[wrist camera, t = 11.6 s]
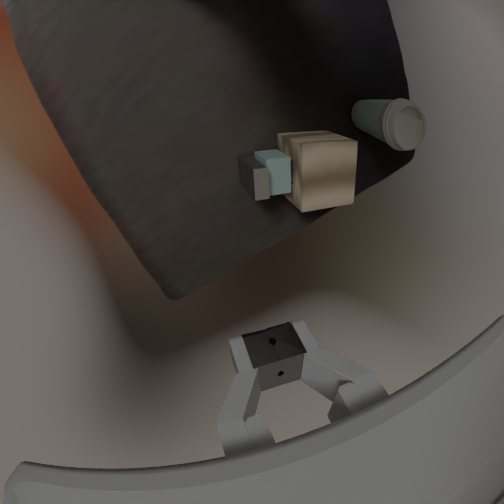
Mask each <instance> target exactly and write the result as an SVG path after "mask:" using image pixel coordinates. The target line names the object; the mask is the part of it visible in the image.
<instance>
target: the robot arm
mask: <svg viewBox="0 0 504 504" xmlns="http://www.w3.org/2000/svg"><path fill="white" fill-rule="evenodd" d="M228 342H229V346H230V351H231V356H232V360H233V364H234V367H235V371H236V374H235V376H234V378H233V381H232V384H231V387H230V389H229V392H228V395H227V397H226V400H225V403H224V406H223V408H222V411H221V413H220V416H219V419H218V421H217V427H218V431H219V435H220V438H221V442H222V446H223V449H224V453H225V457H219V458H214V459H209V460H204V461H199V462H192V463H185V464H177V465H169V466H159V467H146V468H128V469H94V468H93V469H92V468H75V467H63V466H53V465H46V464H40V463H34V462H27V461H25V462H21V463H20V464H19V465H18V466H17V467H16V468H15V470H14V471H13V473H12V474H11V475H10V477H9V478H8V480H7V482H6V484H5V487H4V493H3V504H504V315H502V316H500V317H499V318H498V319H497V320H495V321H494V322H493V323H492V324H491V325H490V326H489V327H488V328H486V329H485V330H484V331H483V332H482V333H480V334H479V335H478V336H477V337H476V338H474V339H473V340H472V341H471V342H469V343H468V344H467V345H465V346H464V347H463V348H462V349H460V350H459V351H458V352H456V353H455V354H454V355H452V356H451V357H450V358H448V359H447V360H445V361H444V362H442V363H441V364H439V365H438V366H436V367H435V368H433V369H432V370H431V371H429V372H427V373H426V374H424V375H423V376H421V377H420V378H418V379H416V380H415V381H413V382H412V383H410V384H408V385H406V386H405V387H403V388H401V389H400V390H398V391H396V392H394V393H393V394H391V395H388V393H387V392H386V390H385V389H384V387H383V386H382V384H381V383H380V381H379V380H378V378H377V377H376V375H375V374H374V372H373V371H372V370H370V369H368V368H366V367H363V366H361V365H359V364H357V363H355V362H353V361H351V360H349V359H347V358H345V357H343V356H341V355H339V354H337V353H335V352H333V351H331V350H329V349H327V348H325V347H323V348H320V346H319V344H318V343H317V341H316V339H315V338H314V336H313V334H312V333H311V331H310V329H309V328H308V326H307V324H306V323H305V321H304V320H303V319H298V320H295V321H291V322H287V323H284V324H281V325H277V326H273V327H270V328H267V329H265V330H260V331H256V332H252V333H248V334H243V335H239V336H235V337H231V338H228ZM299 379H301V381H303V382H304V383H306V384H307V385H309V386H310V387H311V388H313V389H314V390H316V391H318V392H319V393H320V394H322V395H323V396H325V397H326V398H328V399H329V400H331V401H332V402H333V404H332V406H331V408H330V411H329V413H328V418H329V420H330V422H331V423H330V424H328V425H326V426H323V427H321V428H318V429H315V430H313V431H310V432H307V433H305V434H302V435H299V436H296V437H293V438H291V439H287V440H284V441H281V442H278V443H275V441H274V439H273V436H272V434H271V431H270V429H269V426H268V424H267V421H266V419H265V416H263V415H260V414H258V415H255V412H256V409H257V405H258V401H259V397H260V393H261V392H260V391H264V390H267V389H270V388H273V387H276V386H279V385H282V384H286V383H289V382H292V381H296V380H299Z"/></svg>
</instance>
